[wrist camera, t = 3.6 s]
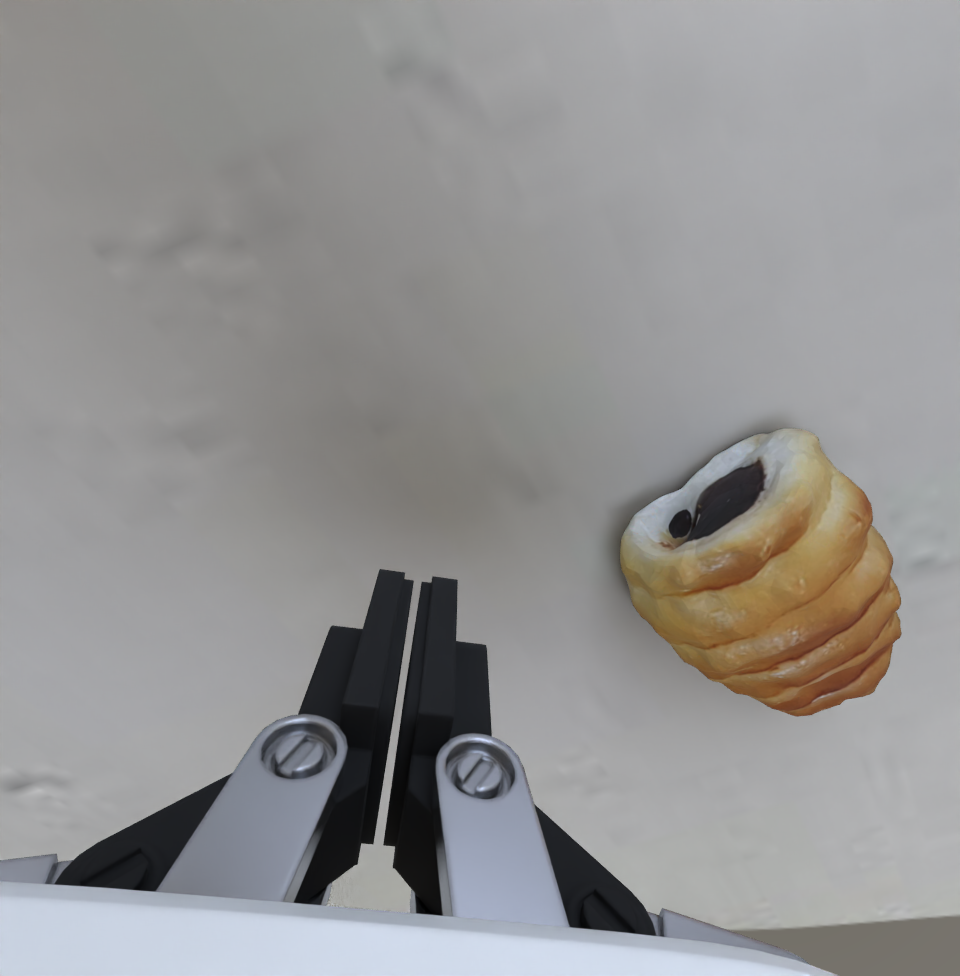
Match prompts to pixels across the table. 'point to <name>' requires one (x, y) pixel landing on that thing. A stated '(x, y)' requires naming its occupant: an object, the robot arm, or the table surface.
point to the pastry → (769, 575)
